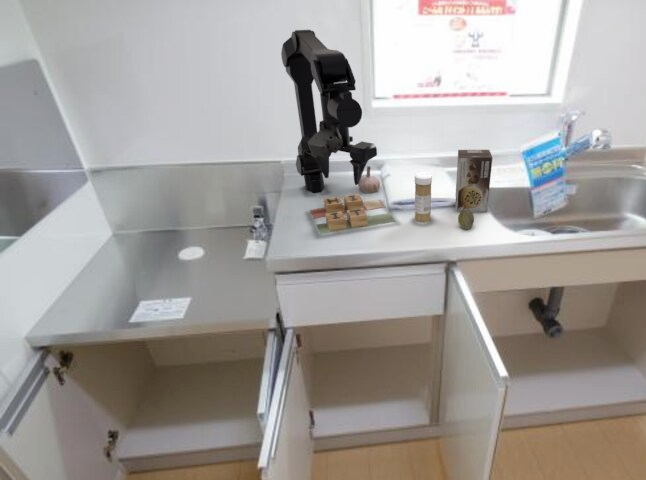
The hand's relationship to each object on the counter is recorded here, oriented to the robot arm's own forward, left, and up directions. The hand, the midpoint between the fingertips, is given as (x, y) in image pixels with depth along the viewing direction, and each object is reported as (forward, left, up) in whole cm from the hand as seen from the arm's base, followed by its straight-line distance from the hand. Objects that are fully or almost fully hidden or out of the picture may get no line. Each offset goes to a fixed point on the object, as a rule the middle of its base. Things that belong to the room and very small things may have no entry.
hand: (341, 181), depth 112 cm
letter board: (-5, +3, -13) cm, 15 cm away
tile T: (-1, +3, -12) cm, 13 cm away
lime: (+10, +31, -14) cm, 35 cm away
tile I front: (-1, -2, -12) cm, 13 cm away
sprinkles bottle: (+3, +21, -14) cm, 25 cm away
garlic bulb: (-22, +13, -14) cm, 29 cm away
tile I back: (-10, +5, -12) cm, 17 cm away
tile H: (-10, -1, -12) cm, 16 cm away
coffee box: (0, +38, -14) cm, 40 cm away
